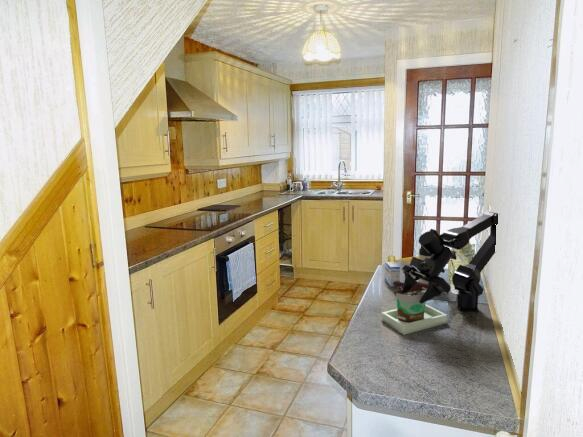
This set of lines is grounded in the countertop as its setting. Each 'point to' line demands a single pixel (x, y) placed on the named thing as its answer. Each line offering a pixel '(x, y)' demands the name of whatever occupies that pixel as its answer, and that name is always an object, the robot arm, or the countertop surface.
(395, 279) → the medicine box
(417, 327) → the tray
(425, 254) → the travel mug
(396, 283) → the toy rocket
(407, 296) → the food container
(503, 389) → the countertop surface
